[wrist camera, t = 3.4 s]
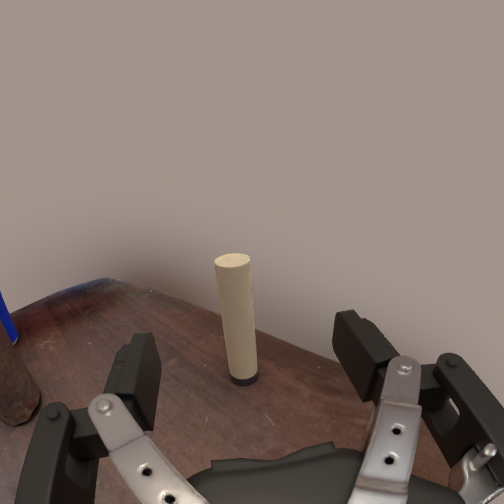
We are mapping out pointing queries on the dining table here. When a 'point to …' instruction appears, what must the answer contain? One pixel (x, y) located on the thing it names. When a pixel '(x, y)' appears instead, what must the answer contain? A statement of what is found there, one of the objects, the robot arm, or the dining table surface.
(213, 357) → the dining table surface
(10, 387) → the candle
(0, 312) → the beverage can
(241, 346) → the beige cylinder
